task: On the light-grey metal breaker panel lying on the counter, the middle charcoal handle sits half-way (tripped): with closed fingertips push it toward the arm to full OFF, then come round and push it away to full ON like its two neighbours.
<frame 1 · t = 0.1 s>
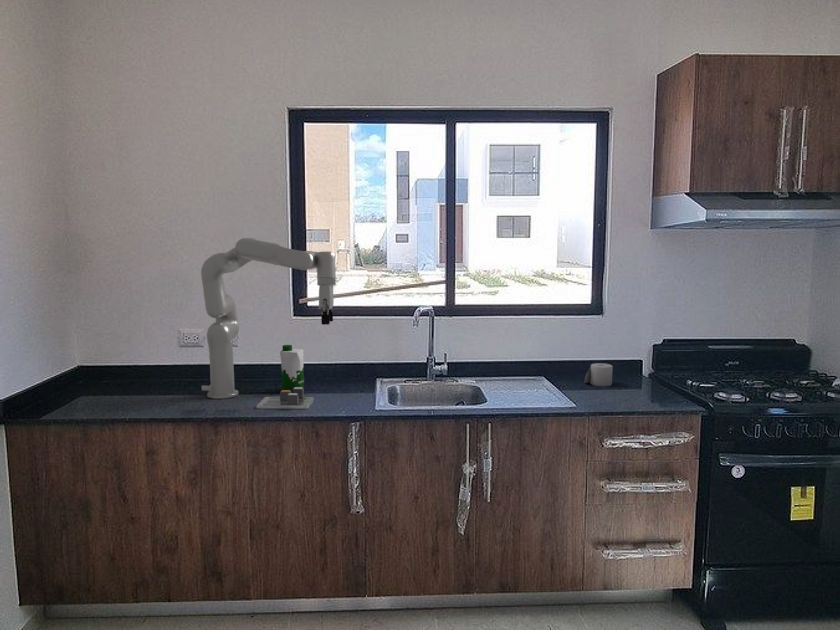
hand: (327, 322, 259), 31 cm above the counter, fingers open, 9 cm apart
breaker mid: (285, 395, 250), point 4 cm above the counter, slide at 4.0 cm
toilet tissue: (597, 384, 284), on the counter
breaker front: (292, 398, 245), point 3 cm above the counter, slide at 8.0 cm
panel: (285, 404, 250), on the counter
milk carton: (293, 391, 272), on the counter
breaker back: (298, 392, 255), point 3 cm above the counter, slide at 8.0 cm
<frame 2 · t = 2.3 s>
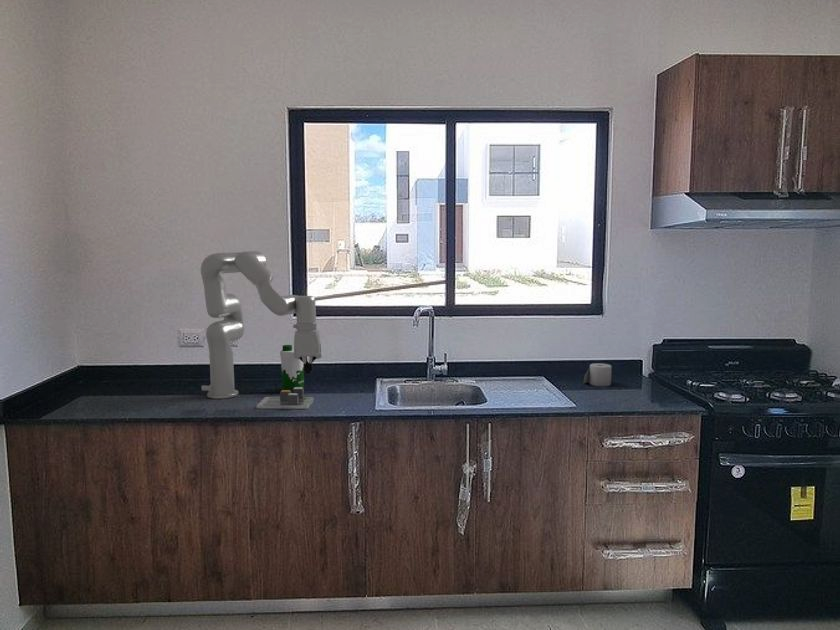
hand: (308, 372, 248), 13 cm above the counter, fingers closed
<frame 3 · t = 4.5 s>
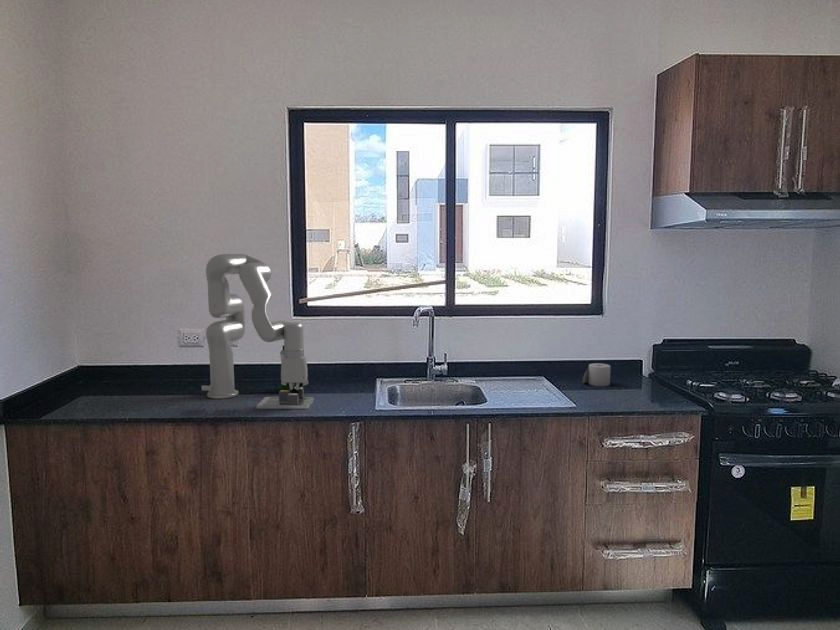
hand: (295, 398, 250), 2 cm above the counter, fingers closed
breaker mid: (284, 395, 250), point 4 cm above the counter, slide at 3.6 cm, touching gripper
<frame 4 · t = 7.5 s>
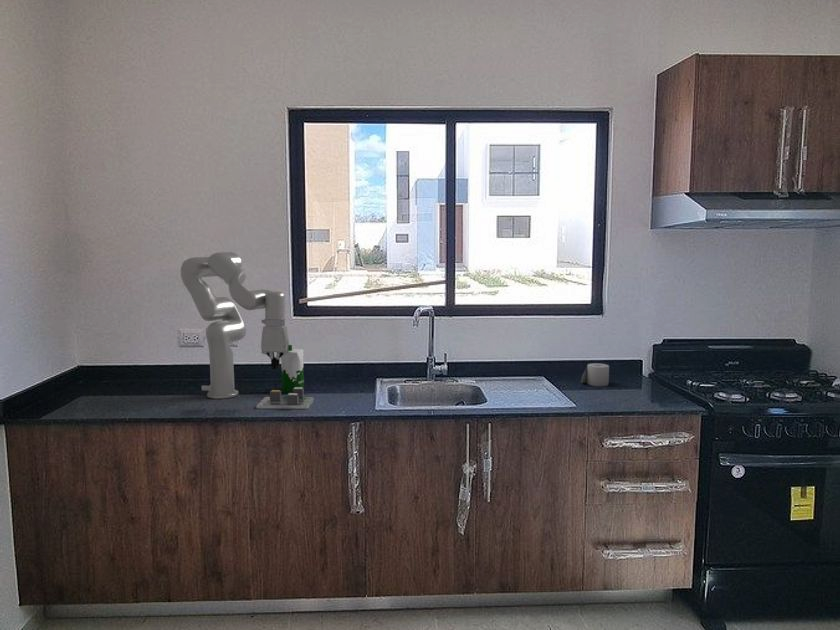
hand: (275, 368, 249), 14 cm above the counter, fingers closed
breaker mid: (275, 395, 250), point 3 cm above the counter, slide at 0.0 cm
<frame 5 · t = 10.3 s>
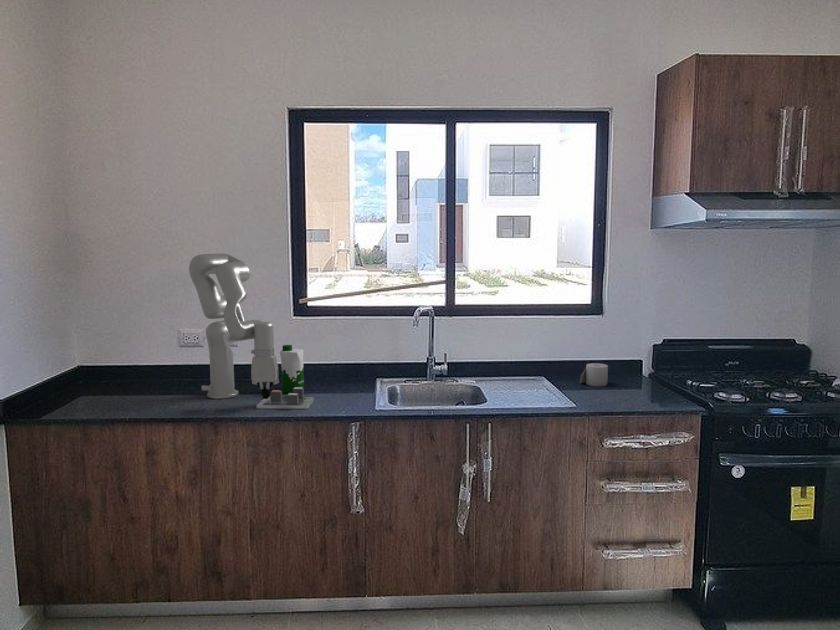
hand: (266, 398, 250), 2 cm above the counter, fingers closed
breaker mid: (276, 395, 250), point 4 cm above the counter, slide at 0.3 cm, touching gripper
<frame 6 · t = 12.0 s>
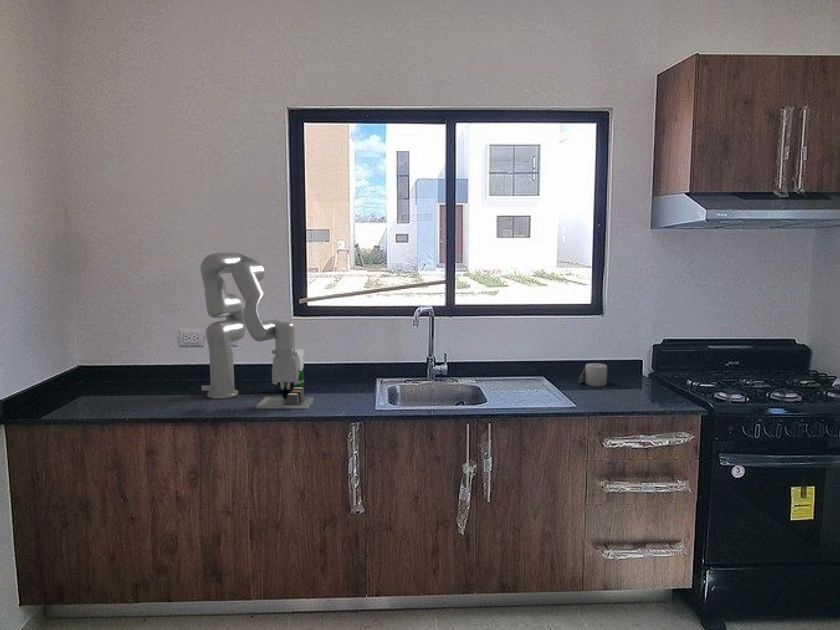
hand: (286, 398, 250), 2 cm above the counter, fingers closed
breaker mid: (296, 395, 250), point 4 cm above the counter, slide at 8.4 cm, touching gripper
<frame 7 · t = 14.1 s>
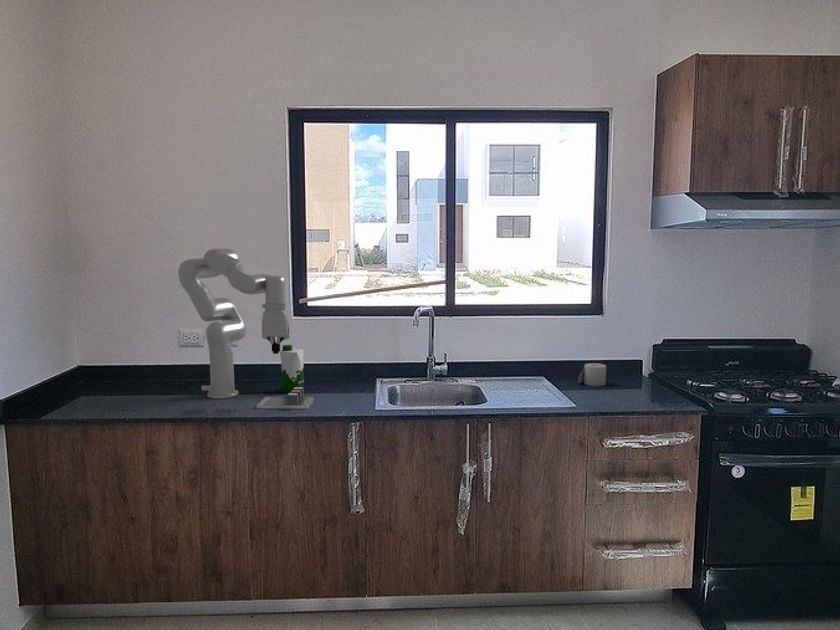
hand: (276, 353, 248), 21 cm above the counter, fingers closed
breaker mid: (295, 395, 250), point 4 cm above the counter, slide at 8.0 cm
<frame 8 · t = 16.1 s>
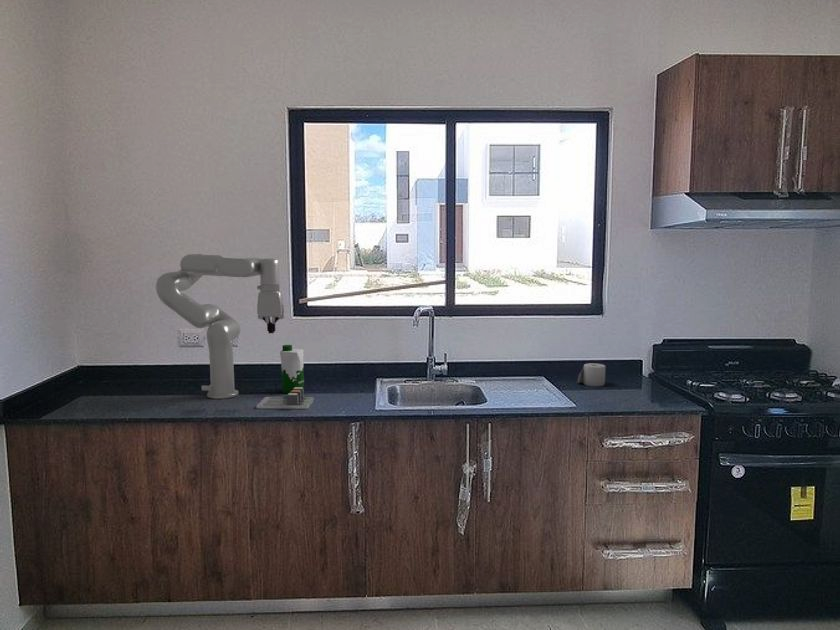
hand: (271, 332, 259), 27 cm above the counter, fingers closed
at the end: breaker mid slide at 8.0 cm; breaker front slide at 8.0 cm; breaker back slide at 8.0 cm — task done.
